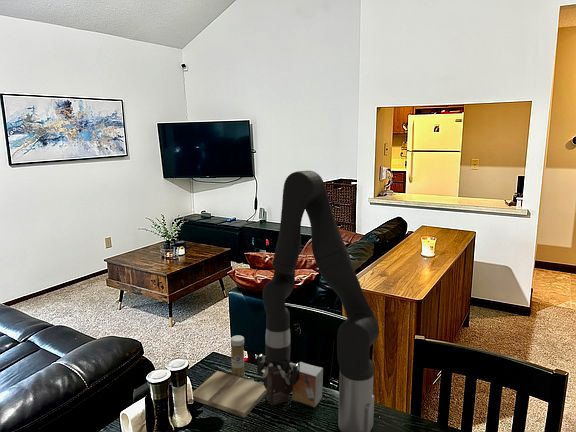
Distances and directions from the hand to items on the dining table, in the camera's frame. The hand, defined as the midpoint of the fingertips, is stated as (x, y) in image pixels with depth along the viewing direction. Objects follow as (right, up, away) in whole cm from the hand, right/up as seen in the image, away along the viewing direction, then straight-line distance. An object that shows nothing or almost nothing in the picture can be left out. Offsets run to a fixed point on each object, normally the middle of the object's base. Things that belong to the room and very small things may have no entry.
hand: (277, 390), depth 130 cm
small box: (+9, -3, +1) cm, 10 cm away
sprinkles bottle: (-14, -1, +15) cm, 20 cm away
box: (0, -3, +1) cm, 4 cm away
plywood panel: (-15, -3, +3) cm, 16 cm away
